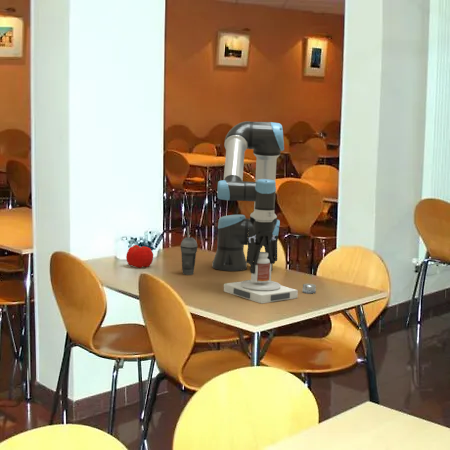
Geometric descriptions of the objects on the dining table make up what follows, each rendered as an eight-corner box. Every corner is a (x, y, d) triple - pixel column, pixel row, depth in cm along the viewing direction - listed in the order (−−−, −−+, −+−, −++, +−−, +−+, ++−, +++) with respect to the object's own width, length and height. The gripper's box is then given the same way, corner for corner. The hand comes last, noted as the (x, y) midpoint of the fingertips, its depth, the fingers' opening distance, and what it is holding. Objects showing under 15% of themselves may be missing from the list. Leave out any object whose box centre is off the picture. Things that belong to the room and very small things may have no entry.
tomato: (157, 267, 355) (158, 247, 354) (132, 270, 349) (133, 249, 347) (145, 263, 364) (146, 243, 363) (121, 265, 357) (121, 244, 356)
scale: (222, 291, 315) (223, 280, 315) (259, 286, 327) (259, 276, 326) (261, 303, 298) (261, 292, 297) (298, 298, 310) (298, 287, 309)
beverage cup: (186, 276, 340) (188, 228, 338) (175, 273, 346) (177, 226, 343) (200, 274, 345) (202, 227, 342) (189, 271, 351) (191, 224, 348)
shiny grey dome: (299, 292, 321) (300, 284, 321) (309, 290, 324) (309, 283, 324) (309, 294, 317) (309, 286, 317) (318, 293, 320) (318, 285, 320)
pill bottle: (272, 282, 311) (273, 253, 310) (259, 283, 308) (260, 254, 306) (262, 279, 316) (263, 250, 315) (249, 280, 313) (250, 251, 311)
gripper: (250, 223, 300) (248, 285, 303) (289, 220, 312) (286, 280, 315) (237, 220, 306) (235, 281, 309) (276, 217, 318) (273, 276, 321)
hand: (260, 280), depth 312 cm, fingers closed on pill bottle, 6 cm apart
